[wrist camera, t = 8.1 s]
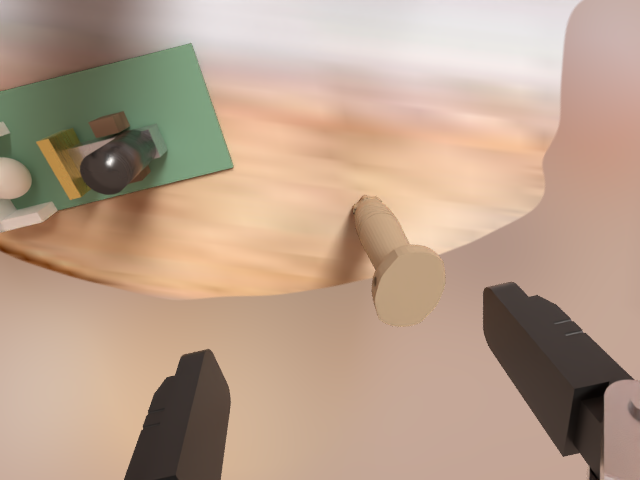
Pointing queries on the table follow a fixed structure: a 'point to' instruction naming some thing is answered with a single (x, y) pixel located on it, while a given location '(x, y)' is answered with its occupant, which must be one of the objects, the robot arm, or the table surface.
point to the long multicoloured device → (101, 159)
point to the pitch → (108, 98)
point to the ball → (13, 178)
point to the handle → (398, 266)
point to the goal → (7, 217)
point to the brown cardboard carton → (112, 126)
